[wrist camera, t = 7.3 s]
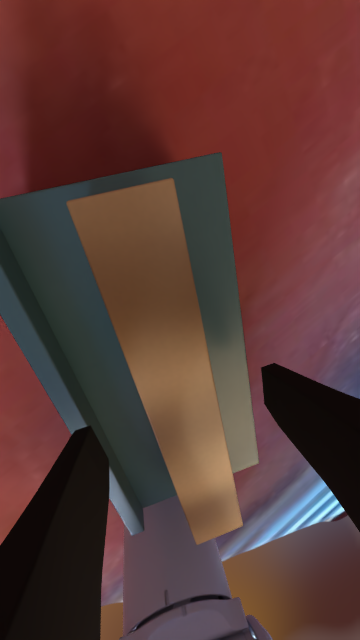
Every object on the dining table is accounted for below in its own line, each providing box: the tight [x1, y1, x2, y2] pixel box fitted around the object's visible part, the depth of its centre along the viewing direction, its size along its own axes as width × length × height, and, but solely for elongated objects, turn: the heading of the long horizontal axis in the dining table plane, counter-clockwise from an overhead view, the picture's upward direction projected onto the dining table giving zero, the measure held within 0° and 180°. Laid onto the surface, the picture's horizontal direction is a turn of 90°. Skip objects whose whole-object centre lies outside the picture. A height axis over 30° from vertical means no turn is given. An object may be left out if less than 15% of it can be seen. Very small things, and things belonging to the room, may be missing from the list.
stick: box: [67, 178, 243, 545], centre depth 10 cm, size 16×3×3 cm, turn 13°
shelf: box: [0, 152, 259, 536], centre depth 13 cm, size 18×9×7 cm, turn 13°
